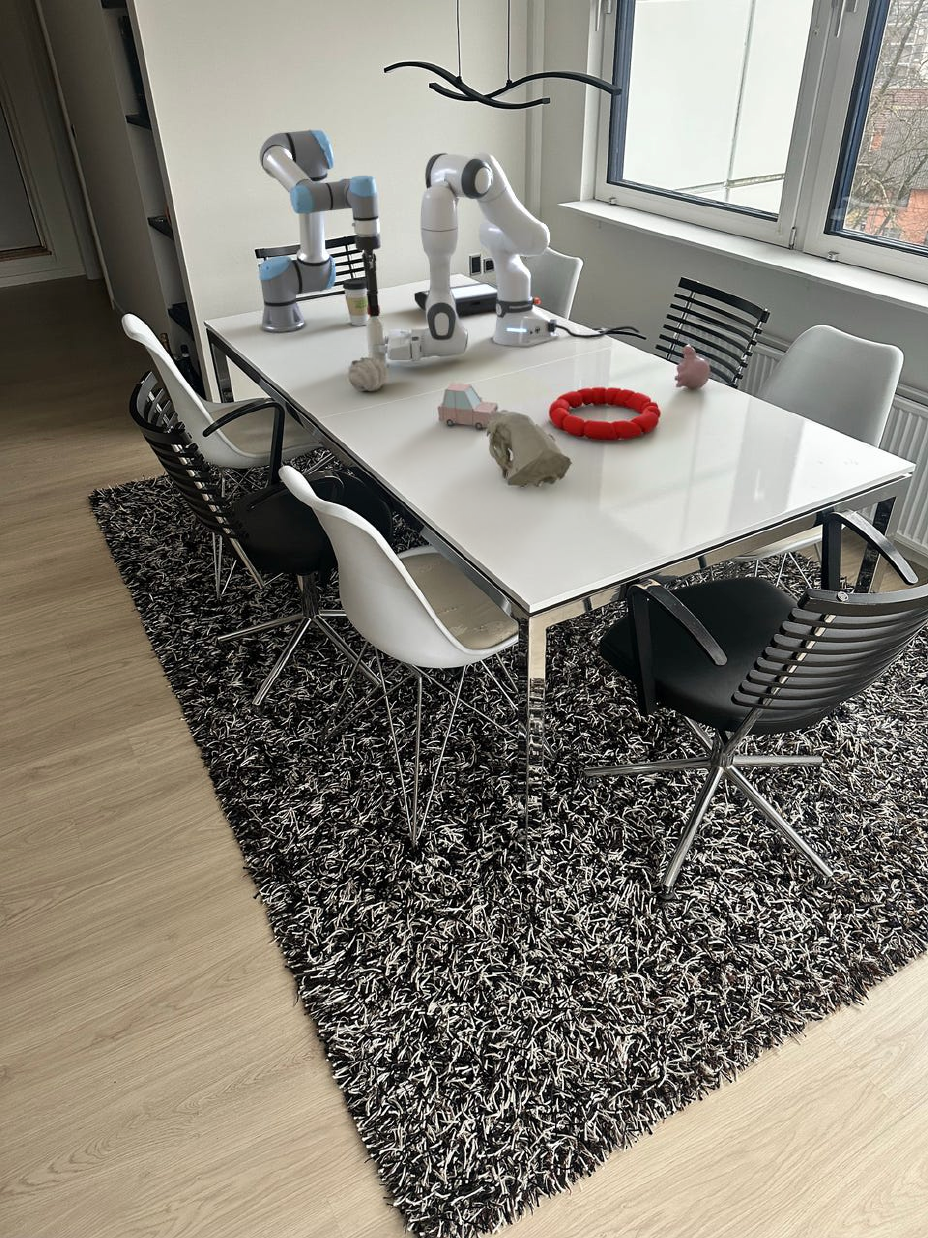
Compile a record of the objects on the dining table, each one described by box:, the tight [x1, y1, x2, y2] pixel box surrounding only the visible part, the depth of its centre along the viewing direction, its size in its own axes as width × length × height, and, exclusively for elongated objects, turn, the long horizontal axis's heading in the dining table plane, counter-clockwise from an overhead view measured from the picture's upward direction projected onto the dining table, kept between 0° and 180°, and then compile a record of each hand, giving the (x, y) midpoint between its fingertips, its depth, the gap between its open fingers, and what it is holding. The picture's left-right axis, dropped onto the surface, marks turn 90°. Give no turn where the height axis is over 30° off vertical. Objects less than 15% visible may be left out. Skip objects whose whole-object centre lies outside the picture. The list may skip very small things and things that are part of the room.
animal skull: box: [485, 409, 573, 489], centre depth 216 cm, size 17×25×20 cm
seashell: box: [347, 356, 388, 392], centre depth 266 cm, size 10×15×10 cm
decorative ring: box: [548, 386, 661, 442], centre depth 242 cm, size 7×30×30 cm
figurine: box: [674, 344, 711, 390], centre depth 259 cm, size 9×11×12 cm
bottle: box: [365, 316, 388, 367], centre depth 282 cm, size 6×6×18 cm
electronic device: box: [413, 281, 497, 317], centre depth 337 cm, size 32×6×20 cm
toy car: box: [437, 382, 499, 431], centre depth 243 cm, size 9×15×10 cm, turn 70°
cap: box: [367, 304, 381, 316], centre depth 278 cm, size 4×4×2 cm
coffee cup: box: [342, 277, 370, 327], centre depth 323 cm, size 10×10×15 cm
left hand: (373, 313), depth 278 cm, fingers closed on cap, 4 cm apart
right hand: (373, 344), depth 284 cm, fingers closed on bottle, 5 cm apart
